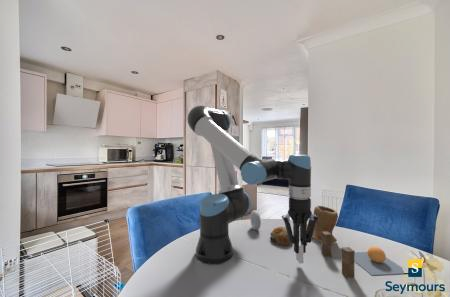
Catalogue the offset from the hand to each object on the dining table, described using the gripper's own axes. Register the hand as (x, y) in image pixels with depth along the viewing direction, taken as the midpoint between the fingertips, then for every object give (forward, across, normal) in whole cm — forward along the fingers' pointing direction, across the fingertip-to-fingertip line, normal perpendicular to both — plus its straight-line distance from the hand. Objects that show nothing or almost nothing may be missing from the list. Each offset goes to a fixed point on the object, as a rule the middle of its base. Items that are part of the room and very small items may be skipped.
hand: (299, 261), depth 73 cm
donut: (+2, -9, +33) cm, 34 cm away
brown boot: (+2, +20, +21) cm, 29 cm away
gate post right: (+2, +14, -6) cm, 15 cm away
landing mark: (+2, +29, 0) cm, 29 cm away
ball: (-1, +30, 0) cm, 30 cm away
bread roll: (+2, 0, +20) cm, 20 cm away
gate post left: (+2, +14, +6) cm, 15 cm away
